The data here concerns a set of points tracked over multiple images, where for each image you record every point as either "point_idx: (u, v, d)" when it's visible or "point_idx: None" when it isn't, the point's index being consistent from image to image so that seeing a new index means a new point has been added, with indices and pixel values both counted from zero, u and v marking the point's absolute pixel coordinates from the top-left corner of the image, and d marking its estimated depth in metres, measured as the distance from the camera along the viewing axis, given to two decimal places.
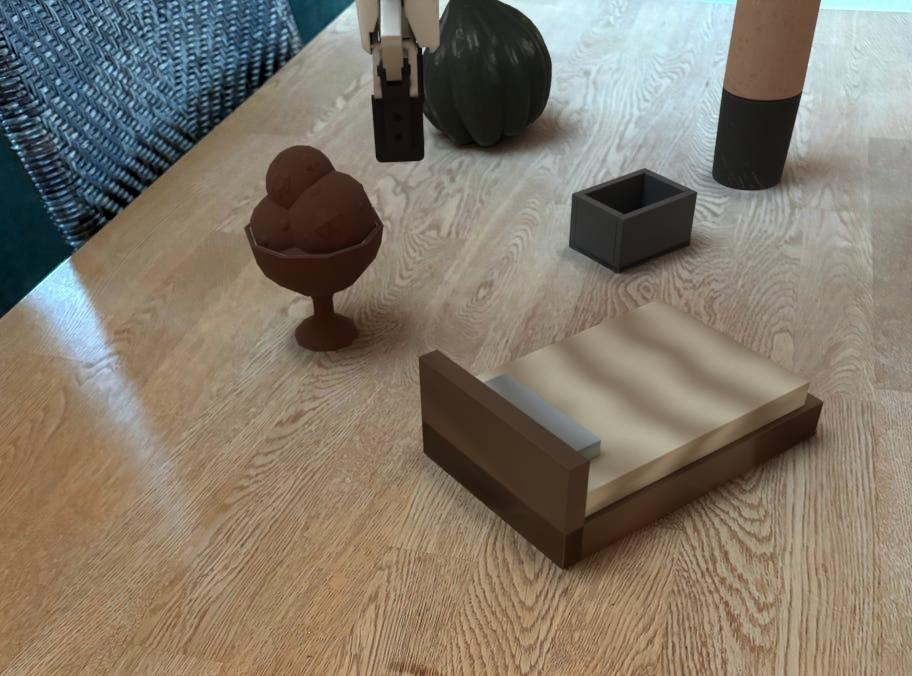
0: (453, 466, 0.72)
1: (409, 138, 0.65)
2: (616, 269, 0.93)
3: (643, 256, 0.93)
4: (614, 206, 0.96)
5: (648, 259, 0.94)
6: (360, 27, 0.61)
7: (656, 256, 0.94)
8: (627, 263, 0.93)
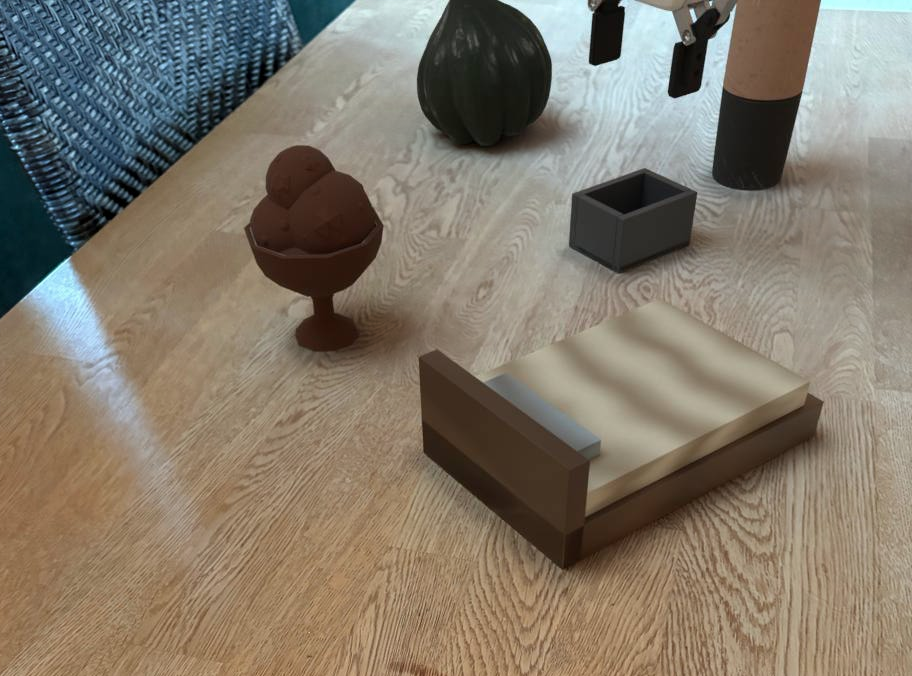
0: (453, 466, 0.72)
1: (702, 73, 0.82)
2: (616, 269, 0.93)
3: (643, 256, 0.93)
4: (614, 206, 0.96)
5: (648, 259, 0.94)
6: None
7: (656, 256, 0.94)
8: (627, 263, 0.93)
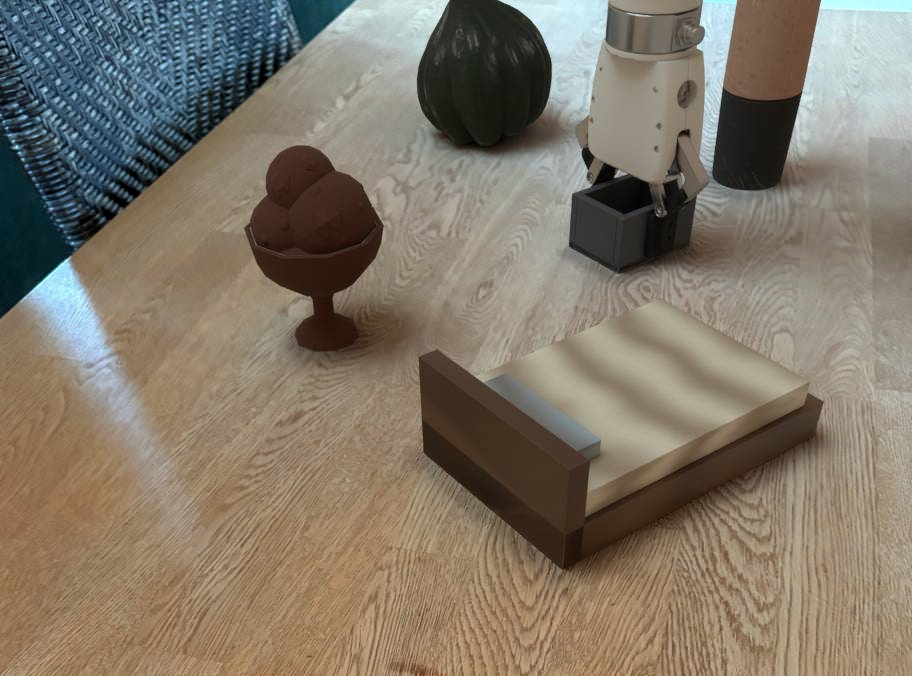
0: (453, 466, 0.72)
1: (674, 237, 0.92)
2: (616, 269, 0.93)
3: (643, 256, 0.93)
4: (614, 206, 0.96)
5: (648, 259, 0.94)
6: (659, 168, 0.87)
7: None
8: (627, 263, 0.93)
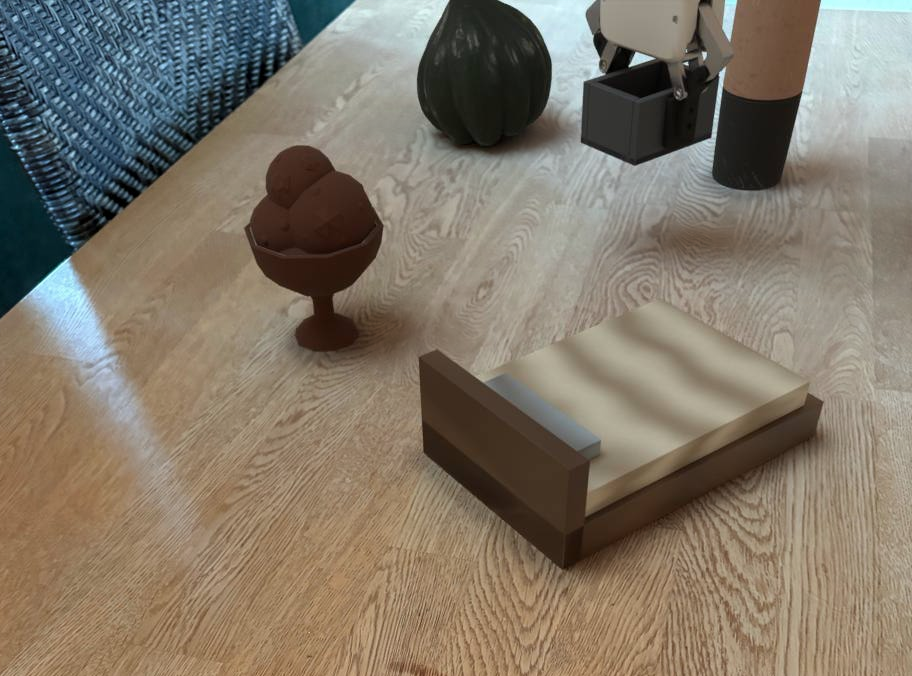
0: (453, 466, 0.72)
1: (695, 125, 0.85)
2: (633, 161, 0.86)
3: (661, 148, 0.86)
4: None
5: (667, 152, 0.87)
6: (679, 41, 0.79)
7: (675, 149, 0.87)
8: (644, 155, 0.86)
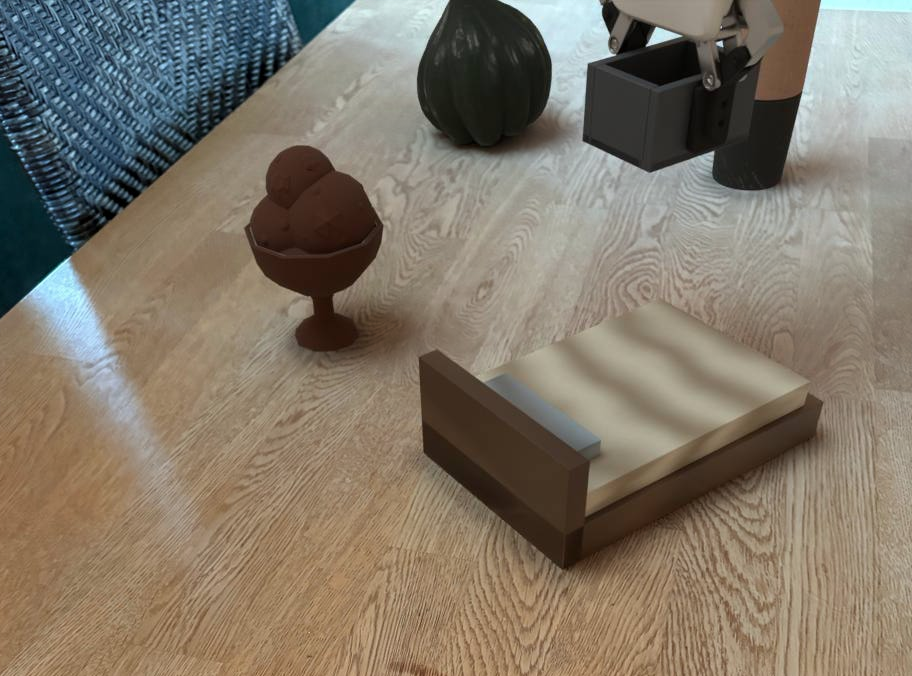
0: (453, 466, 0.72)
1: (728, 122, 0.67)
2: (647, 167, 0.67)
3: (684, 150, 0.68)
4: None
5: (691, 155, 0.68)
6: (712, 13, 0.61)
7: (701, 153, 0.69)
8: (662, 159, 0.67)
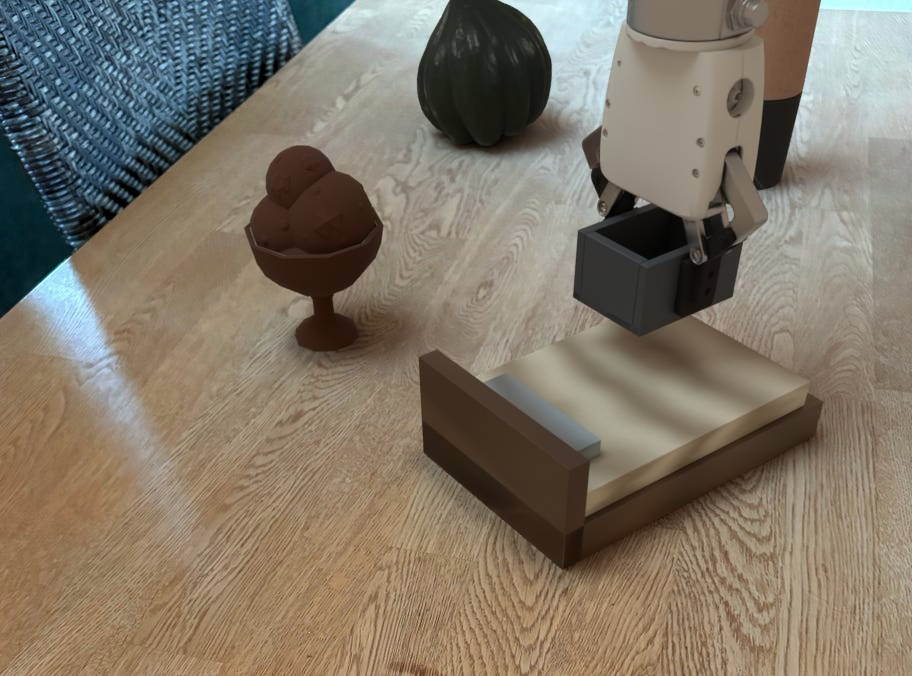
0: (453, 466, 0.72)
1: (714, 289, 0.69)
2: (637, 332, 0.69)
3: (672, 314, 0.70)
4: (633, 245, 0.73)
5: (679, 317, 0.71)
6: (699, 199, 0.63)
7: None
8: (651, 323, 0.69)
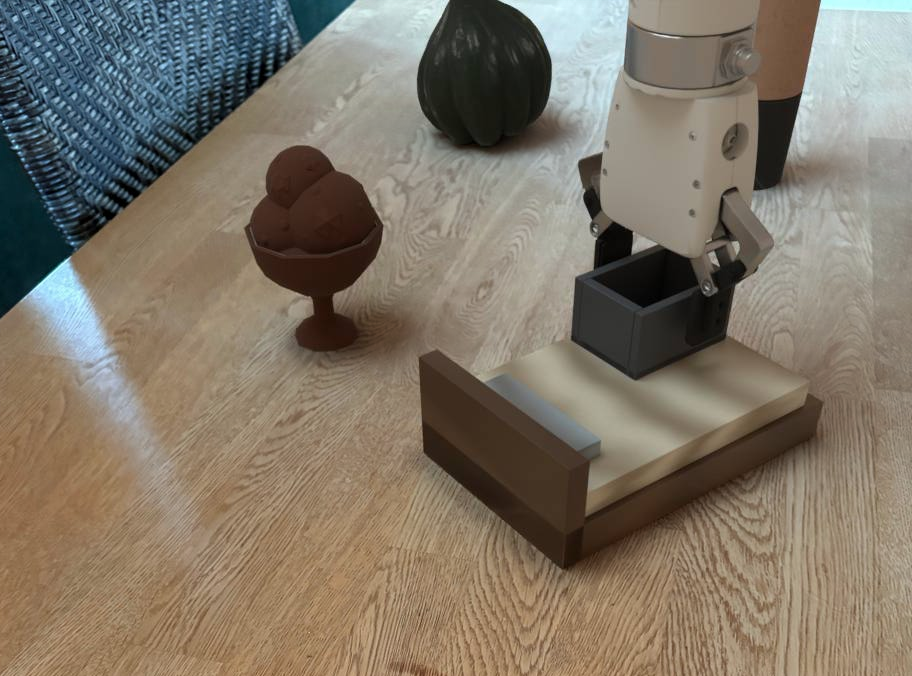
0: (453, 466, 0.72)
1: (725, 319, 0.70)
2: (632, 375, 0.72)
3: (667, 357, 0.72)
4: (629, 290, 0.75)
5: (673, 360, 0.73)
6: (696, 238, 0.65)
7: (683, 357, 0.73)
8: (646, 367, 0.72)
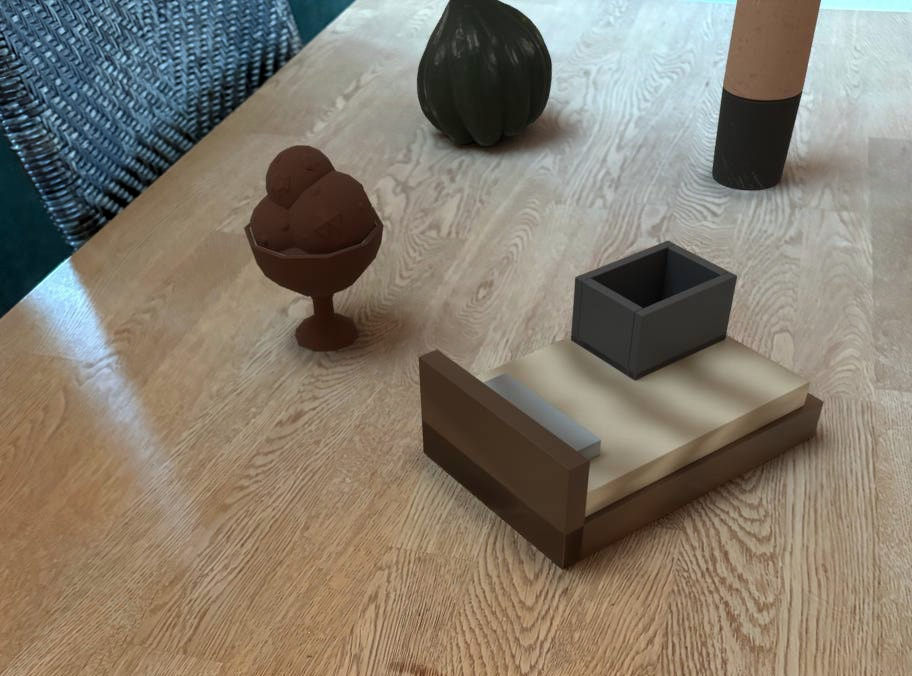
0: (453, 466, 0.72)
1: None
2: (632, 375, 0.72)
3: (667, 357, 0.72)
4: (629, 290, 0.75)
5: (673, 360, 0.73)
6: None
7: (683, 357, 0.73)
8: (646, 367, 0.72)
